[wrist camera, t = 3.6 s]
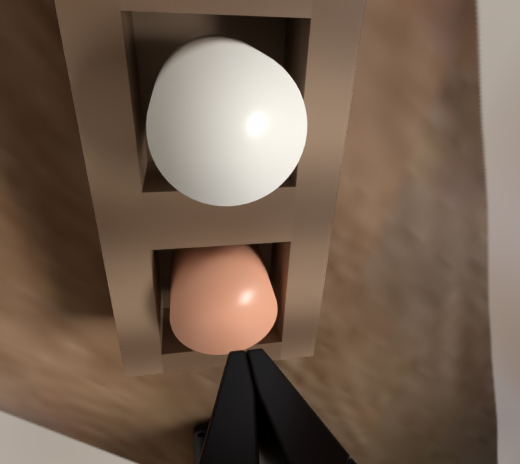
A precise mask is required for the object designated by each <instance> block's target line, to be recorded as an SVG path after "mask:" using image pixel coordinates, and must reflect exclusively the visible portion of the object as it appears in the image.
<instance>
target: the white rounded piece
mask: <svg viewBox="0 0 520 464" xmlns="http://www.w3.org/2000/svg"><path fill="white" fill-rule="evenodd" d="M146 135H147V141H148V146H149V149H150V153H151V156H152V158H153V160H154V162H155V164H156V166H157V168H158V169H159V171H160V172H161V174H162V175H163V176H164V177H165V179H166V180H167V181H168V182H169V183H170V184H171V185H172V186H173V187H174V188H175V189H177V190H178V191H180V192H181V193H182V194H184V195H186V196H188V197H190V198H191V199H194V200H196V201H199V202H201V203H205V204H209V205H215V206H237V205H242V204H247V203H250V202H253V201H256V200H258V199H260V198H262V197H265V196H266V195H268V194H270V193H271V192H273V191H274V190H275V189H277V188H278V187H279V186H280V185H281V184H282V183H283V182H284V181H285V180H286V179H287V178H288V177H289V176H290V174H291V173H292V172H293V170H294V169H295V167H296V165H297V163H298V162H299V160H300V157H301V155H302V153H303V149H304V146H305V142H306V136H307V114H306V109H305V104H304V101H303V98H302V96H301V93H300V91H299V89H298V87H297V85H296V83H295V82H294V80H293V79H292V78H291V76H290V75H289V74H288V73H287V72H286V71H285V69H284V68H283V67H282V66H280V65H279V64H278V63H277V62H275V61H274V60H273V59H271V58H270V57H268V56H266V55H265V54H263V53H261V52H260V51H258V50H256V49H255V48H253V47H252V46H250V45H248V44H246V43H245V42H243V41H241V40H239V39H236V38H234V37H230V36H226V35H217V34H216V35H204V36H199V37H196V38H193V39H191V40H189V41H187V42H185V43H183V44H182V45H180V46H179V47H177V48H176V49H175V50H174V51H173V52H172V53H171V54H170V55H169V56H168V57H167V59H166V60H165V61H164V63H163V65H162V66H161V68H160V70H159V73H158V75H157V78H156V82H155V85H154V89H153V92H152V96H151V100H150V104H149V108H148V112H147V120H146Z"/></svg>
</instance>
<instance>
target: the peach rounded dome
mask: <svg viewBox="0 0 520 464" xmlns="http://www.w3.org/2000/svg"><path fill="white" fill-rule="evenodd" d="M276 317H277V301H276V298H275V295H274V292H273V289H272V286H271V283H270V280H269V277H268V274H267V271H266V268H265V265H264V261H263V258H262V255H261V252H260V250H259V247H258V245H257V244H242V245H226V246H209V247H193V248H177V249H175V250H174V252H173V255H172V260H171V292H170V324H171V328H172V331H173V333H174V334H175V336H176V337H177V339H178V340H179V341H180V342H181V343H182V344H184V345H185V346H187V347H188V348H190V349H192V350H194V351H197V352H200V353H204V354H210V355H226V354H229V352H230V351H236V350H245V349H247V348H249V347H251V346H253V345H255V344H256V343H258V342H259V341H260V340H262V339H263V338H264V337H265V336H266V335H267V334H268V332H269V331H270V330H271V328H272V327H273V325H274V323H275V320H276Z"/></svg>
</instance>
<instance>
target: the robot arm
mask: <svg viewBox="0 0 520 464" xmlns="http://www.w3.org/2000/svg"><path fill="white" fill-rule="evenodd" d="M193 434H194V448H195V462H196V464H356V462H355V461H354V460H353V459H352V458H350V455H349V454H348V453H347V451H346V450H345V449H344V448H343V447H342V445H341V444H340V443H339V442H338V440H337V439H336V438H335V437H334V435H333V434H332V433H331V432H330V431H329V429H328V428H327V427H326V426H325V424H324V423H323V422H322V421H321V419H320V418H319V417H318V416H317V415H316V413H315V412H314V411H313V410H312V408H311V407H310V406H309V405H308V403H307V402H306V401H305V400H304V399H303V397H302V396H301V395H300V394H299V392H298V391H297V390H296V389H295V387H294V386H293V385H292V384H291V383H290V381H289V380H288V379H287V378H286V376H285V375H284V374H283V373H282V371H281V370H280V369H279V368H278V367H277V365H276V364H275V363H274V362H273V360H272V359H271V358H270V357H269V355H268V354H267V353H266V352H265V351H264V350H263V349H262V348H254V349H248V350H247V351H245V350H236V351H230V352H229V354H228V357H227V361H226V364H225V368H224V372H223V375H222V379H221V383H220V386H219V390H218V394H217V397H216V401H215V405H214V408H213V412H212V415H211V419H210V423H209V424H204V425H199V426H196V427H195V428H194V430H193ZM349 458H350V459H349Z"/></svg>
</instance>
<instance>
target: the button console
mask: <svg viewBox="0 0 520 464" xmlns="http://www.w3.org/2000/svg"><path fill="white" fill-rule="evenodd" d="M54 2H55V7H56V12H57V18H58V23H59V28H60V33H61V39H62V44H63V49H64V55H65V60H66V65H67V70H68V76H69V81H70V86H71V91H72V97H73V102H74V107H75V113H76V118H77V123H78V128H79V134H80V139H81V144H82V150H83V155H84V160H85V165H86V171H87V176H88V181H89V186H90V192H91V197H92V202H93V208H94V213H95V218H96V223H97V229H98V234H99V239H100V245H101V250H102V255H103V260H104V266H105V271H106V276H107V281H108V287H109V292H110V297H111V303H112V308H113V313H114V318H115V324H116V329H117V334H118V340H119V345H120V350H121V355H122V361H123V366H124V371H125V376H126V377H133V376H142V375H151V374H160V373H168V372H177V371H186V370H195V369H203V368H212V367H221V366H225V364H226V361H227V357H228V354H226V355H210V354H204V353H200V352H197V351H194V350H192V349H190V348H188V347H187V346H185V345H184V344H182V343H181V342H180V341H179V340H178V339H177V337H176V336H175V334H174V333H173V331H172V328H171V324H170V292H171V260H172V255H173V252H174V250H175V249H177V248H193V247H209V246H226V245H242V244H257V245H258V247H259V250H260V252H261V255H262V258H263V261H264V265H265V268H266V271H267V274H268V277H269V280H270V283H271V286H272V289H273V292H274V295H275V298H276V301H277V317H276V320H275V323H274V325H273V327H272V328H271V330H270V331H269V332H268V334H267V335H266V336H265V337H264V338H263V339H262V340H260V341H259V342H258V343H256V344H255V345H253V346H251V347H249V348H247V349H245V351H247V350H248V349H254V348H262V349H263V350H264V351H265V352H266V353H267V354H268V355H269V357H270V358H271V359H272V360H273V361H274V360H283V359H291V358H300V357H309V356H314V349H315V342H316V336H317V329H318V322H319V315H320V309H321V302H322V295H323V288H324V282H325V275H326V268H327V261H328V254H329V248H330V241H331V234H332V227H333V221H334V214H335V207H336V200H337V194H338V187H339V180H340V173H341V167H342V160H343V153H344V146H345V140H346V133H347V126H348V119H349V113H350V106H351V99H352V92H353V85H354V79H355V72H356V65H357V58H358V52H359V45H360V38H361V31H362V25H363V18H364V11H365V4H366V0H54ZM216 34H217V35H226V36H230V37H234V38H236V39H239V40H241V41H243V42H245V43H246V44H248V45H250V46H252V47H253V48H255V49H256V50H258V51H260V52H261V53H263V54H265V55H266V56H268V57H270V58H271V59H273V60H274V61H275V62H277V63H278V64H279V65H280V66H282V67H283V68H284V69H285V71H286V72H287V73H288V74H289V75H290V76H291V78H292V79H293V80H294V82H295V83H296V85H297V87H298V89H299V91H300V93H301V96H302V98H303V101H304V104H305V109H306V114H307V136H306V142H305V146H304V149H303V153H302V155H301V157H300V160H299V162H298V163H297V165H296V167H295V169H294V170H293V172H292V173H291V174H290V176H289V177H288V178H287V179H286V180H285V181H284V182H283V183H282V184H281V185H280V186H279V187H278V188H277V189H275V190H274V191H273V192H271V193H270V194H268V195H266V196H265V197H262V198H260V199H258V200H256V201H253V202H250V203H247V204H242V205H237V206H215V205H209V204H205V203H201V202H199V201H196V200H194V199H191V198H190V197H188V196H186V195H184V194H182V193H181V192H180V191H178V190H177V189H175V188H174V187H173V186H172V185H171V184H170V183H169V182H168V181H167V180H166V179H165V177H164V176H163V175H162V174H161V172H160V171H159V169H158V168H157V166H156V164H155V162H154V160H153V158H152V156H151V153H150V149H149V146H148V141H147V135H146V120H147V112H148V108H149V104H150V100H151V96H152V92H153V89H154V85H155V82H156V78H157V75H158V73H159V70H160V68H161V66H162V65H163V63H164V61H165V60H166V59H167V57H168V56H169V55H170V54H171V53H172V52H173V51H174V50H175V49H176V48H177V47H179V46H180V45H182V44H183V43H185V42H187V41H189V40H191V39H193V38H196V37H199V36H204V35H216Z"/></svg>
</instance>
